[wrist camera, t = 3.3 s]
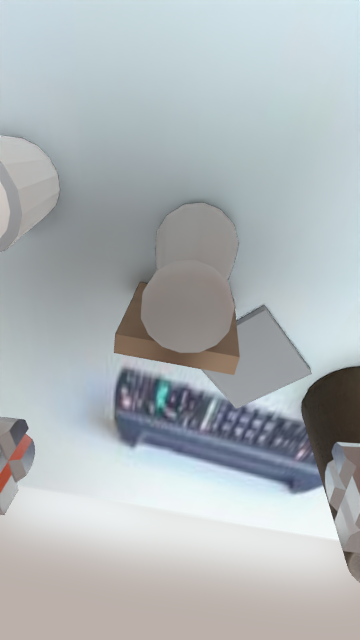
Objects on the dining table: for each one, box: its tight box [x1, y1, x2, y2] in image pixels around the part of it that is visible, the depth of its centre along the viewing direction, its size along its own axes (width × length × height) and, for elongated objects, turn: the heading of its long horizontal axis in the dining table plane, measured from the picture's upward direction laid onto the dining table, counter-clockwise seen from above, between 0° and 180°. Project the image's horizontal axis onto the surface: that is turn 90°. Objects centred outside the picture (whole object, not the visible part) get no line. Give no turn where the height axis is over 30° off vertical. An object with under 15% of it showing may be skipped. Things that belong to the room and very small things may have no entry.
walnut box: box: [114, 282, 240, 375], centre depth 25 cm, size 8×2×8 cm, turn 81°
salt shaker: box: [141, 203, 239, 353], centre depth 20 cm, size 6×6×13 cm
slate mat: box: [201, 305, 312, 409], centre depth 31 cm, size 8×8×1 cm
